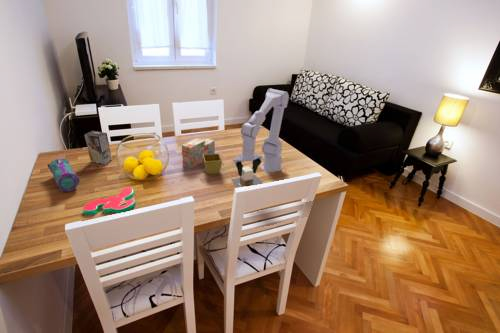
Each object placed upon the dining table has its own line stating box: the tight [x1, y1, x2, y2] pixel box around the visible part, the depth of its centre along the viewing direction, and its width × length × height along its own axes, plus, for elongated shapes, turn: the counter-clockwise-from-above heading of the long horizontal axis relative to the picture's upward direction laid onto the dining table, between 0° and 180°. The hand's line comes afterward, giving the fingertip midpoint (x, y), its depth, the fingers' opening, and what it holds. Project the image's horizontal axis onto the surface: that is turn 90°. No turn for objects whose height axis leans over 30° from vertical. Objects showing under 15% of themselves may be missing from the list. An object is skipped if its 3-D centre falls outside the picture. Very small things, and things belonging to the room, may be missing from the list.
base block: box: [239, 176, 254, 187], centre depth 138 cm, size 5×5×4 cm
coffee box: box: [84, 130, 113, 165], centre depth 148 cm, size 9×6×16 cm
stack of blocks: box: [181, 137, 216, 168], centre depth 158 cm, size 21×6×12 cm, turn 150°
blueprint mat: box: [230, 174, 264, 187], centre depth 140 cm, size 14×14×1 cm
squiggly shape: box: [82, 186, 136, 216], centre depth 119 cm, size 20×16×2 cm
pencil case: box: [47, 157, 80, 192], centre depth 130 cm, size 21×9×10 cm, turn 42°
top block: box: [239, 165, 254, 181], centre depth 136 cm, size 4×4×5 cm
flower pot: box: [203, 152, 223, 175], centre depth 147 cm, size 9×9×9 cm
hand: (247, 173), depth 135 cm, fingers open, 7 cm apart
